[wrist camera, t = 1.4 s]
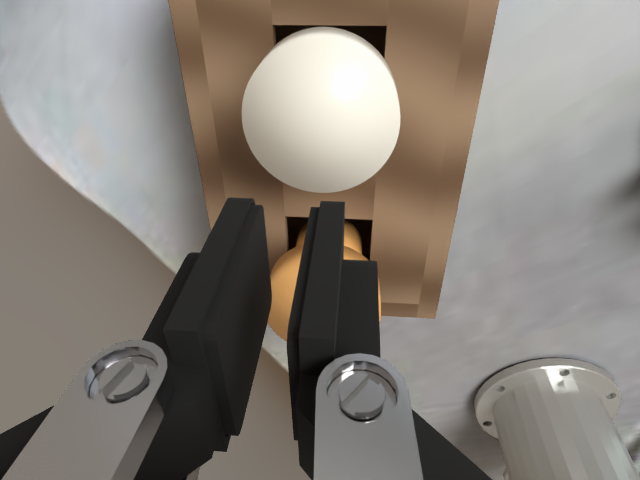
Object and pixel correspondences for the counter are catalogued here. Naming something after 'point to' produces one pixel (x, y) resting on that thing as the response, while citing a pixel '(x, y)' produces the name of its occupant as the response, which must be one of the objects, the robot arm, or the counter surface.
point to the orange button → (288, 271)
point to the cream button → (322, 110)
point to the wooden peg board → (411, 147)
